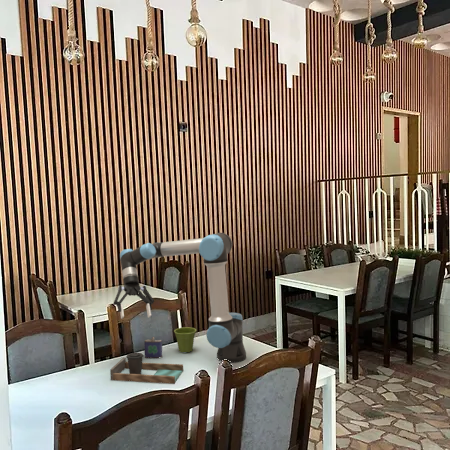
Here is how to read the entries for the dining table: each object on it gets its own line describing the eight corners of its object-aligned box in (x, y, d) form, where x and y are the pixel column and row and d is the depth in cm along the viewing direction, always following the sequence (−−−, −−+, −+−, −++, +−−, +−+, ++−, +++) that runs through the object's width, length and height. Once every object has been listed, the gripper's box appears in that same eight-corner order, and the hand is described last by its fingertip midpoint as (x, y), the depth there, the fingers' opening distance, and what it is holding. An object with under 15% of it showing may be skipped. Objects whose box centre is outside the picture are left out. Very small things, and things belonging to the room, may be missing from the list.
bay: (183, 370, 238) (183, 360, 237) (174, 383, 222) (173, 372, 221) (123, 367, 243) (123, 357, 242) (110, 380, 227) (110, 369, 227)
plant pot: (172, 348, 270) (172, 328, 269) (193, 346, 273) (193, 326, 273) (177, 355, 259) (176, 334, 258) (199, 353, 262) (198, 332, 261)
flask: (162, 356, 258) (162, 336, 257) (161, 358, 255) (161, 338, 254) (145, 356, 258) (144, 336, 257) (144, 358, 255) (143, 338, 255)
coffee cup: (140, 378, 228) (139, 357, 228) (123, 377, 230) (123, 356, 229) (146, 372, 236) (146, 351, 236) (130, 371, 238) (130, 350, 237)
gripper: (151, 281, 260) (157, 319, 249) (104, 281, 247) (108, 321, 237) (156, 274, 254) (163, 313, 243) (108, 274, 242) (113, 314, 231)
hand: (136, 317), depth 240 cm, fingers open, 13 cm apart
